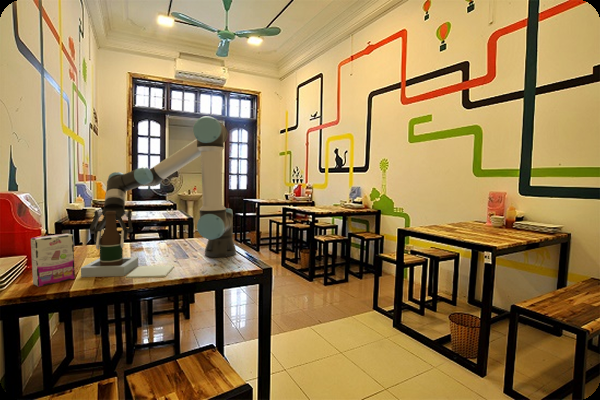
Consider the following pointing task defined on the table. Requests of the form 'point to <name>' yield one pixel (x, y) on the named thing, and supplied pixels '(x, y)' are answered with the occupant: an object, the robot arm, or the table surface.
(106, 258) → the beer bottle
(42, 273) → the candy bar box
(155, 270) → the mat
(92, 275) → the grey square tray
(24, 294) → the table surface
